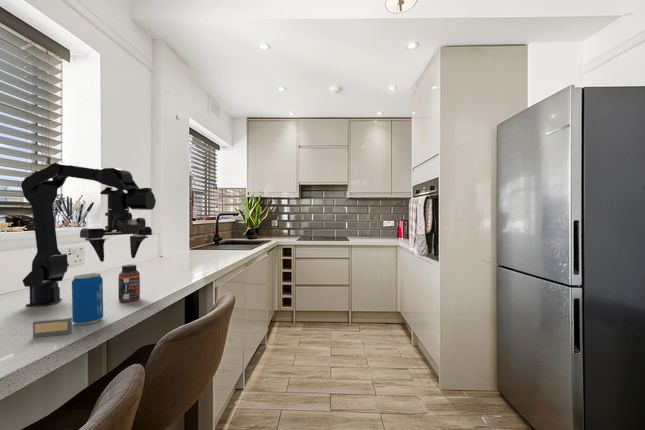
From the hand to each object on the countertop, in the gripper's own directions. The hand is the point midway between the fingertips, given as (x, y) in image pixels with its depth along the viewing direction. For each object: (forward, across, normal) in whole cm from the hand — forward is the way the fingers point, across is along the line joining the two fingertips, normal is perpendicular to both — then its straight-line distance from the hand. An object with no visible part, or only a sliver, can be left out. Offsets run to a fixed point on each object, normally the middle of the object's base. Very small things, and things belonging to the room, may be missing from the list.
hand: (118, 259), depth 102 cm
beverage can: (+14, -13, -11) cm, 22 cm away
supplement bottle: (+14, +4, 0) cm, 14 cm away
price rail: (+14, -22, -14) cm, 29 cm away
